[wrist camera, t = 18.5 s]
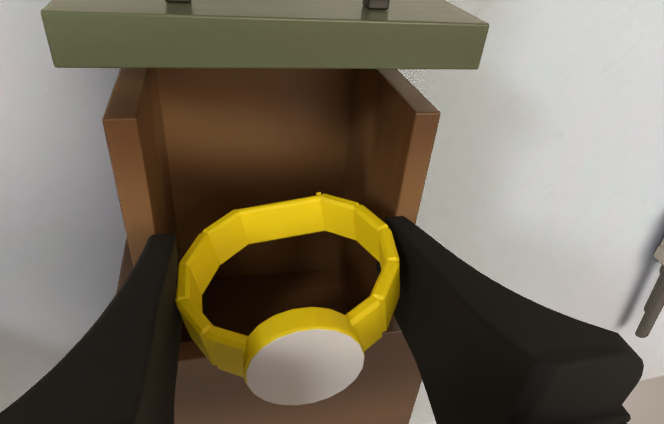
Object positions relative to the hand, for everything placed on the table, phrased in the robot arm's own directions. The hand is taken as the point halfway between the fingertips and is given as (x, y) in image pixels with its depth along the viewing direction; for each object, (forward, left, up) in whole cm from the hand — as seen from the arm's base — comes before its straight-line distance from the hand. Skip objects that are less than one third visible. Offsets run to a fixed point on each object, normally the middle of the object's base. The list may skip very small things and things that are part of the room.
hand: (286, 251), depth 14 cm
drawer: (0, +2, -8) cm, 8 cm away
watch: (0, 0, -2) cm, 2 cm away
